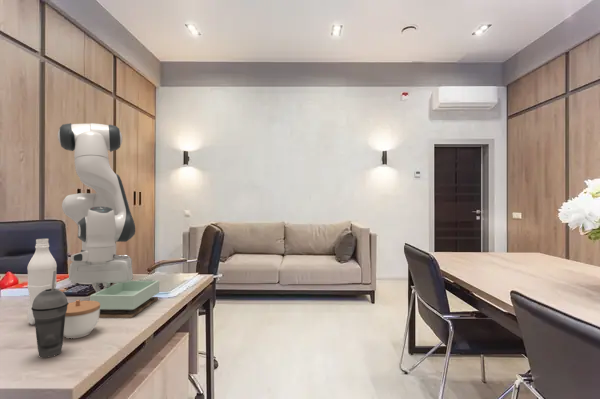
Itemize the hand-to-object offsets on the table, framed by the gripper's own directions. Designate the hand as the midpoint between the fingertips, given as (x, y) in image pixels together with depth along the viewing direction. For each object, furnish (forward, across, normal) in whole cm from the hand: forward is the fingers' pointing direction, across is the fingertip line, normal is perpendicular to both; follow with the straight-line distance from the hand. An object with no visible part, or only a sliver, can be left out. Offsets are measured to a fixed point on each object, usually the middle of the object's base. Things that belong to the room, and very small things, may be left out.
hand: (101, 295), depth 120 cm
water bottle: (+4, +10, +14) cm, 18 cm away
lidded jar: (+4, -7, +23) cm, 24 cm away
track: (+4, -5, 0) cm, 7 cm away
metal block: (+4, -6, -17) cm, 19 cm away
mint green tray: (+3, -9, 0) cm, 9 cm away
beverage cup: (+4, -8, +35) cm, 36 cm away
